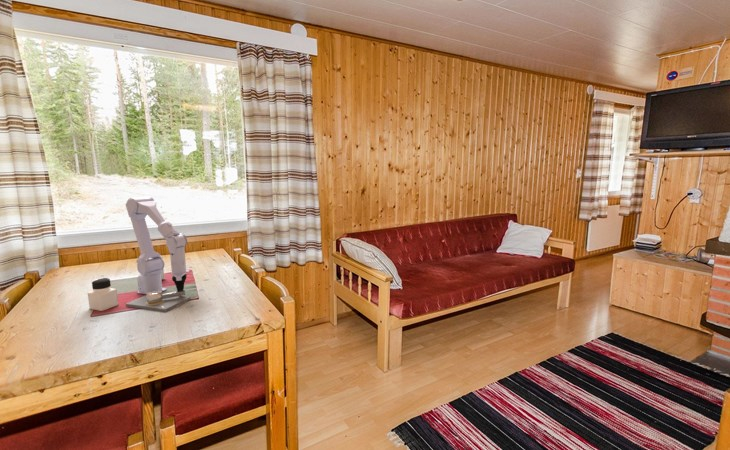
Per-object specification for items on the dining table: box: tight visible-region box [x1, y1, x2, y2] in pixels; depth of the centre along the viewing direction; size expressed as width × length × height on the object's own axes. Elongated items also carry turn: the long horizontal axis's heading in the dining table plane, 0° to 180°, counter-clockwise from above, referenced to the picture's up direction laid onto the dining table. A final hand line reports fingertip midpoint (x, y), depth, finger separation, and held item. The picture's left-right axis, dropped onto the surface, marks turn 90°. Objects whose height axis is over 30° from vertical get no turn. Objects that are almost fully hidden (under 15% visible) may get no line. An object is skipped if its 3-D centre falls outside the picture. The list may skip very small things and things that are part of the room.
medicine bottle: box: [87, 277, 119, 312], centre depth 147 cm, size 7×7×12 cm
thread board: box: [125, 292, 191, 313], centre depth 153 cm, size 20×14×1 cm
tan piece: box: [146, 289, 186, 304], centre depth 153 cm, size 14×6×4 cm, turn 125°
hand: (180, 291), depth 159 cm, fingers closed
